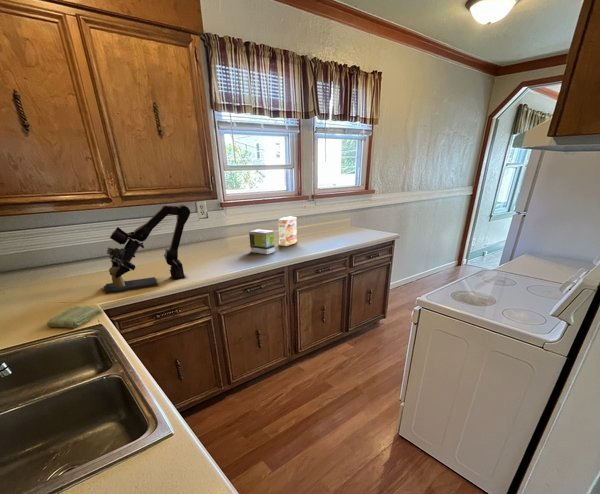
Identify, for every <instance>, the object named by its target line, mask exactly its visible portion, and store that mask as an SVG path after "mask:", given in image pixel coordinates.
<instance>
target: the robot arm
mask: <svg viewBox="0 0 600 494" xmlns="http://www.w3.org/2000/svg"><path fill="white" fill-rule="evenodd" d="M168 215H172V216H176V222H175V226H174V230H173V234H172V238H171V241H170V246H169V247H168V249H167V248H165V253H164V254H163V257H164V261H165V262H166V264H167V265H168V266H169V268H170V269H169V273H170V277H171V279H172V280H179V279H185V278H186V276H185V271H184V266H183V263H182V262H181V260H180V259H179V246H180V244H181V240H182V235H183V232H184V227H185V225H186V223H187V221H188V219H189V218H190V216H191V209H190V208H189V207H188V206H186V205H184V204H180V205H178V206H176V205H166V204H165V205H162V207H161V208H160V209H159V210H158V211H157V212H156V213H155V214H154V215H153V216H152V217H150V219H149V220H147V222H145V223H143V224H142V225H140V226H139V227H137V228H135V229H134V230H133V231H131V232H125V231H124V230H122V228H121V227H119V226H117V227H116V228H115V230H114V231H112V233H111V234H110V236H109V239H110V240H112V241H114V242H116V243H117V244H118V245H120V246H121V245H124V246H123V248H122V247H121V248H119V247H114V248H113V247H107V251H106V254H107V255H109V257H108V258H109V260H110V262H111V266H110V268H112V267H119V268H118V270H117V273H116V275H115V278H118V277H120V276H123V275H125V274H127V273H128V272H131V271H135V269H136V265H135V264H134V263H132V259H133V258H136V253H137V252H138V251H139V249H140V248H141V249H145V245H144V242H145V241H146V240H147V239H148V237H149V236H150V234H151V232H152V231H153V230H154V229H155V228H156V227H157V226H158V225H159V224H160V223H161V222H162V221H163V220H164V219H165V218H166V217H167V216H168ZM109 275H110V276H112V275H111V274H110V273H109Z"/></svg>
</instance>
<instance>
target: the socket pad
mask: <svg viewBox="0 0 600 494" xmlns="http://www.w3.org/2000/svg"><path fill="white" fill-rule="evenodd" d="M123 281H124V283H125V285H126V286H124V287H119V288H113V282H108V283H105V285H104V286H103V291H104V292H105V294H117V293H124V292H127V291H133V290H140V289H147V288H153V287H154V288H155V287H158V282H157V279H156V277H155V276H153V277H152V276H151V277H146V278H138V279H137V278H136V279H130V280H123Z"/></svg>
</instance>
